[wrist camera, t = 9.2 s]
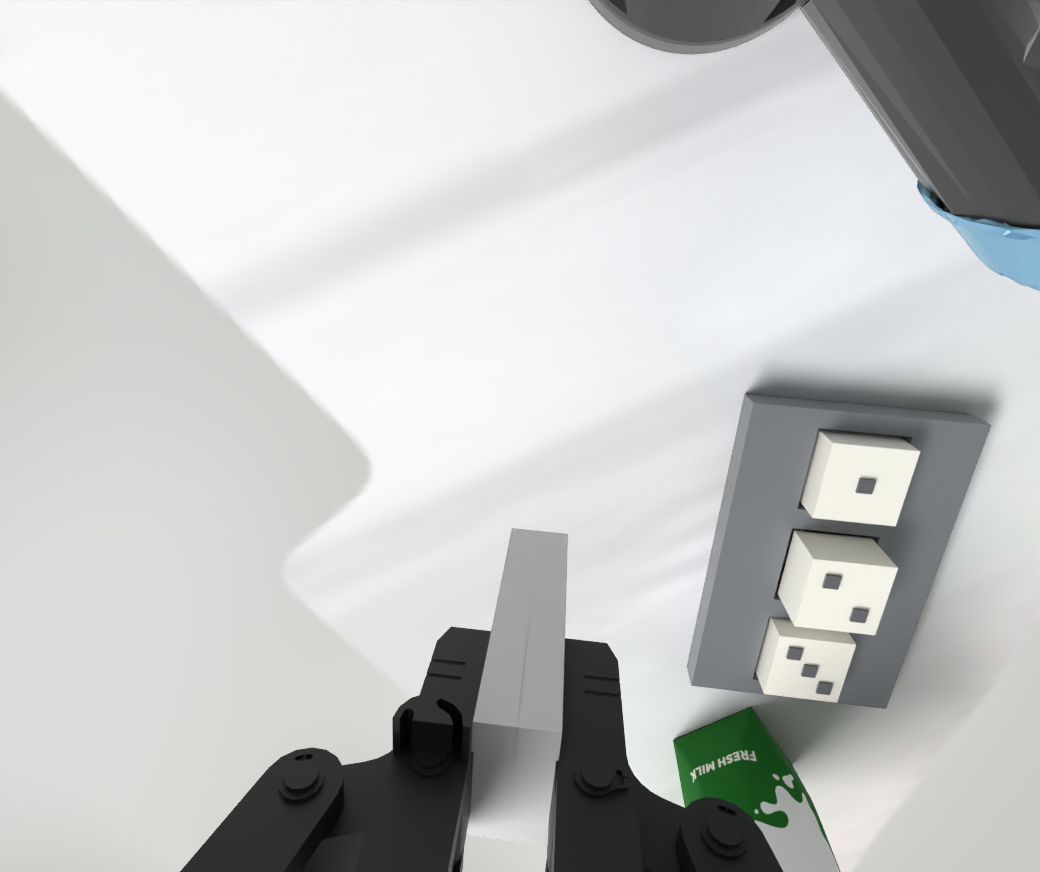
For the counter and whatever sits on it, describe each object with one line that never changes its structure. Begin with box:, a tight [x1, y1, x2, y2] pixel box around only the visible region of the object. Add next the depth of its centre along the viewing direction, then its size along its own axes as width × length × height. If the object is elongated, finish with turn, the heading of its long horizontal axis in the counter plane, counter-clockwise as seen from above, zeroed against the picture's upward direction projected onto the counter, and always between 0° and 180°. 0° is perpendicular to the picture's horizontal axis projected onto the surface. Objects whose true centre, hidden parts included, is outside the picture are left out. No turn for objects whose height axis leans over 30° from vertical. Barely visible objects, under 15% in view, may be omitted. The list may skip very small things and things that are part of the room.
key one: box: [800, 428, 920, 526], centre depth 38 cm, size 5×5×4 cm
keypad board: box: [687, 394, 991, 709], centre depth 42 cm, size 22×14×2 cm, turn 176°
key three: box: [755, 616, 856, 703], centre depth 43 cm, size 5×5×4 cm
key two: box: [778, 530, 898, 635], centre depth 39 cm, size 5×5×4 cm
